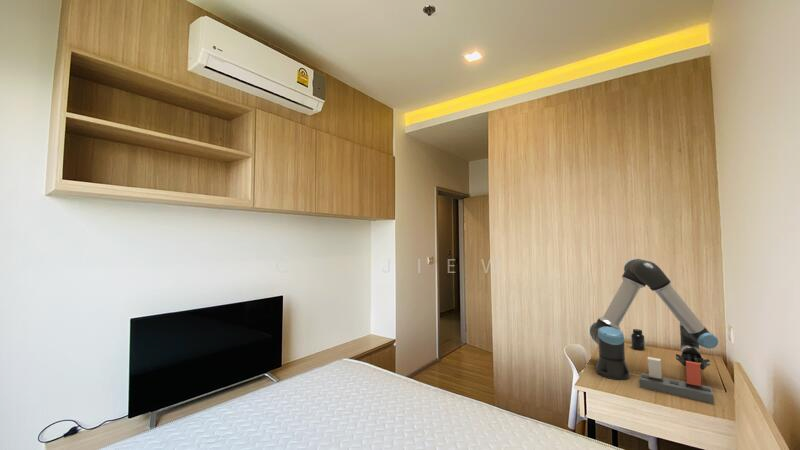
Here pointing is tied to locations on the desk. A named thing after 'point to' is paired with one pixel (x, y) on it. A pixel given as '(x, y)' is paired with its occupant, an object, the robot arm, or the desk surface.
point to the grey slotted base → (677, 388)
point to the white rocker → (654, 367)
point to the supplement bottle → (637, 340)
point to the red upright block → (693, 373)
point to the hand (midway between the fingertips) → (694, 370)
